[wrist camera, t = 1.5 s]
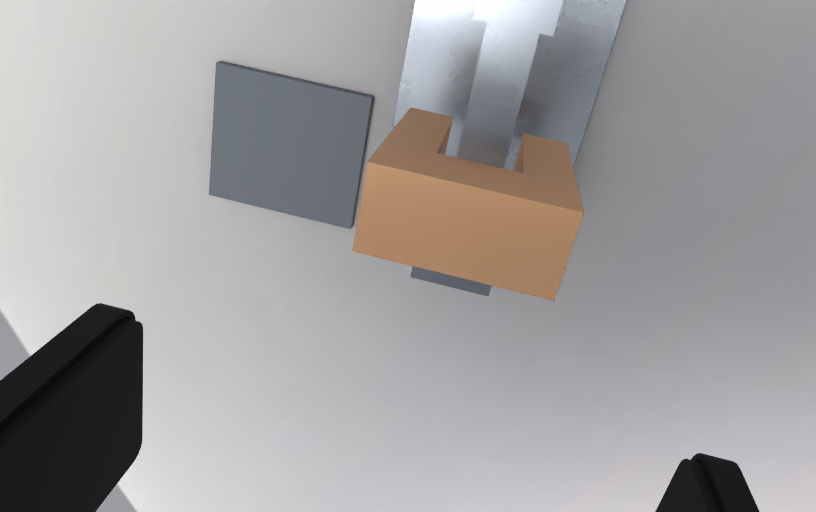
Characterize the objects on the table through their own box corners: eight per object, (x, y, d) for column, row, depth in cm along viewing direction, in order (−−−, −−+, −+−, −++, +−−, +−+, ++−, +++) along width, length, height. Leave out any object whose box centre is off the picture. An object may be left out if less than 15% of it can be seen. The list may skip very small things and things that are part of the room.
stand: (634, -37, 31) (723, -37, 17) (561, 193, 36) (585, 335, 22) (432, -78, 31) (361, -111, 18) (390, 153, 37) (310, 267, 23)
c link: (567, 143, 26) (583, 212, 18) (546, 211, 27) (554, 300, 20) (410, 107, 26) (367, 161, 19) (397, 175, 27) (352, 251, 20)
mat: (374, 96, 36) (371, 97, 35) (352, 225, 39) (350, 229, 38) (220, 60, 36) (216, 62, 36) (213, 191, 40) (209, 194, 39)
